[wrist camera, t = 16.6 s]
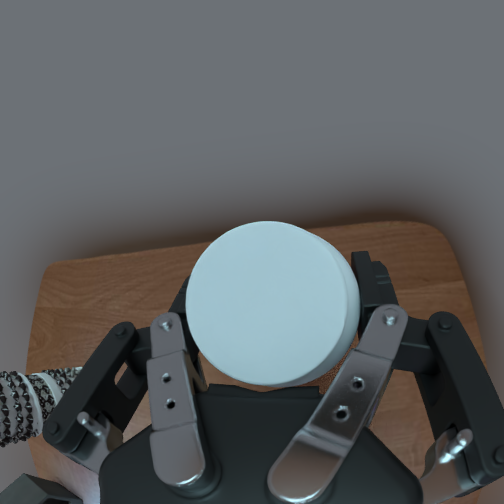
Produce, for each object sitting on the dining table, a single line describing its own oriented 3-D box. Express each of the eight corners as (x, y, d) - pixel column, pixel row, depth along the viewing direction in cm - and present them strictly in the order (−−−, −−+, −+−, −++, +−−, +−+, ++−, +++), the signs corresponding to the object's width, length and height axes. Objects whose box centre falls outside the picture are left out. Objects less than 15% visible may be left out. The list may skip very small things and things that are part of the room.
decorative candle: (92, 432, 32) (-42, 466, 8) (60, 387, 35) (-69, 397, 11) (115, 400, 32) (-46, 433, 9) (79, 352, 35) (-71, 350, 12)
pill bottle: (321, 373, 17) (314, 446, 6) (235, 335, 19) (134, 351, 8) (359, 284, 18) (406, 239, 7) (272, 250, 19) (212, 174, 9)
